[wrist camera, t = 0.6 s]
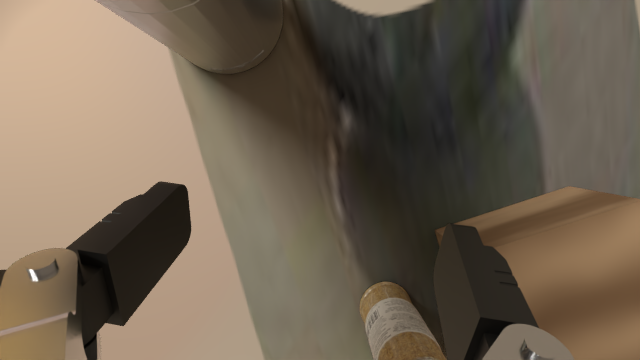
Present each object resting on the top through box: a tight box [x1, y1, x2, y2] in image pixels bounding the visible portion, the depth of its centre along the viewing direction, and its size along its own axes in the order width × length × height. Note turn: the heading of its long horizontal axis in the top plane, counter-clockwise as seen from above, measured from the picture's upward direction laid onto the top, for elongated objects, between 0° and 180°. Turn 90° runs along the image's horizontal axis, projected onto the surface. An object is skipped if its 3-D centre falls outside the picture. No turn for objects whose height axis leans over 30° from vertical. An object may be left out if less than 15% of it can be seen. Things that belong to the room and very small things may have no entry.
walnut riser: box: [435, 186, 640, 360], centre depth 28 cm, size 12×12×7 cm
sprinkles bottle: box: [360, 282, 447, 360], centre depth 25 cm, size 5×5×13 cm
